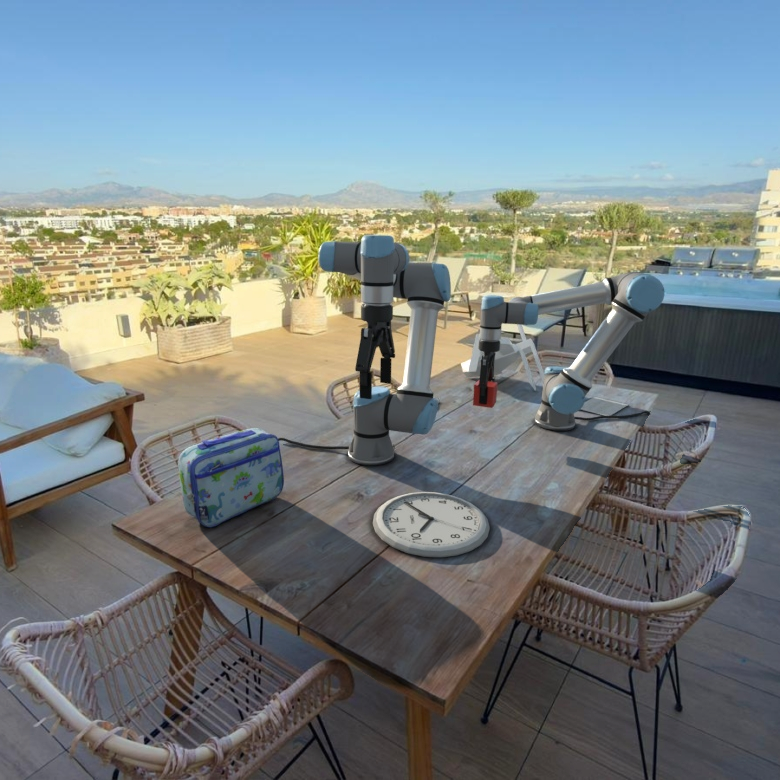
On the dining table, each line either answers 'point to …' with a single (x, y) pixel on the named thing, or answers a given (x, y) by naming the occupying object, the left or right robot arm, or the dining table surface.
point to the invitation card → (602, 406)
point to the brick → (490, 395)
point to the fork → (438, 399)
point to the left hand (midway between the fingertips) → (376, 390)
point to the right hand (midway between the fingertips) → (485, 400)
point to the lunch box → (230, 475)
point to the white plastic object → (504, 357)
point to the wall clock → (431, 524)
